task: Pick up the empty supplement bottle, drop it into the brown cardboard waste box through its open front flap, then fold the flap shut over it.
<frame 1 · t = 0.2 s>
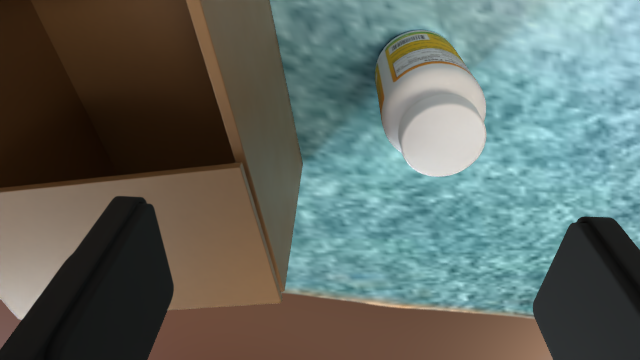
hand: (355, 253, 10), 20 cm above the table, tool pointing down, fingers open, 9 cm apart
supplement bottle: (414, 68, 28), on the table
waste box: (172, 70, 29), on the table
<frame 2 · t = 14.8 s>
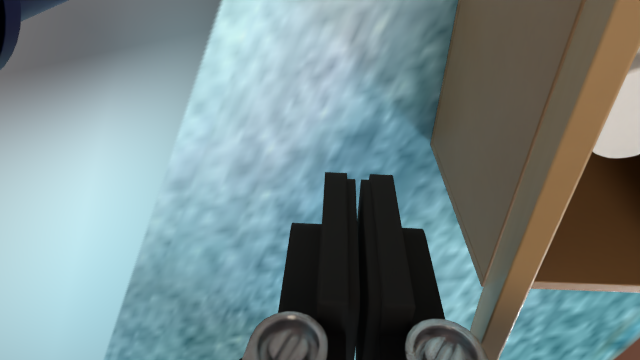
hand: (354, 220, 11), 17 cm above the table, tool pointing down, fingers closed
supplement bottle: (537, 38, 25), resting on waste box
waste box: (599, 37, 25), on the table
flap: (522, 220, 11), point 17 cm above the table, hinge at 116.9°, touching gripper
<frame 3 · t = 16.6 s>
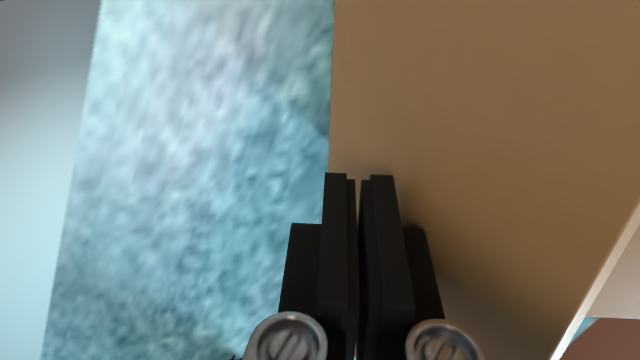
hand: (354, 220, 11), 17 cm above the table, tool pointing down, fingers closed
waste box: (485, 37, 24), on the table
flap: (410, 228, 11), point 17 cm above the table, hinge at 61.5°
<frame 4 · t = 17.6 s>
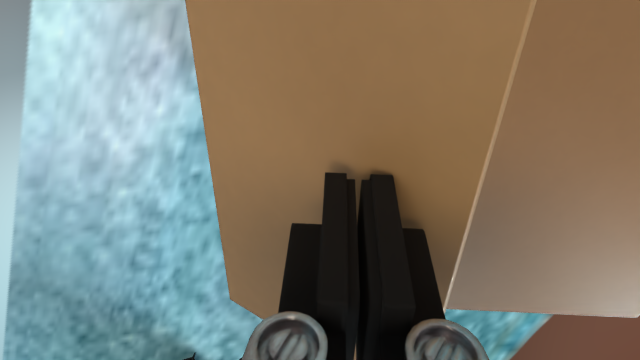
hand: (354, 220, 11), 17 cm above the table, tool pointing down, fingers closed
waste box: (414, 34, 24), on the table
flap: (317, 187, 12), point 15 cm above the table, hinge at 31.1°
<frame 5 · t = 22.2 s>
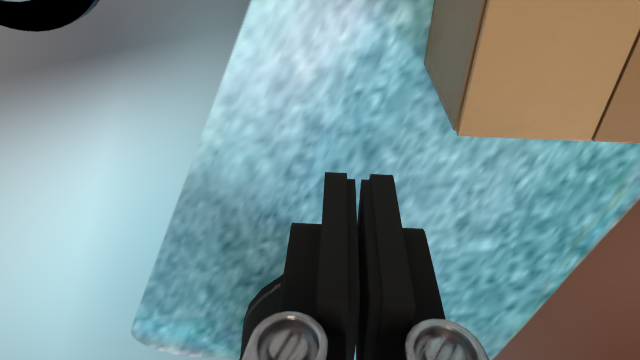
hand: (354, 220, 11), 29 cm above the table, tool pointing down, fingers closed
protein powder: (281, 313, 59), on the table
flap: (563, 15, 23), point 13 cm above the table, hinge at -0.3°
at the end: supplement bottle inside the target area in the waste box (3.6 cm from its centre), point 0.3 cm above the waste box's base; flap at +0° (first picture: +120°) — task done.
